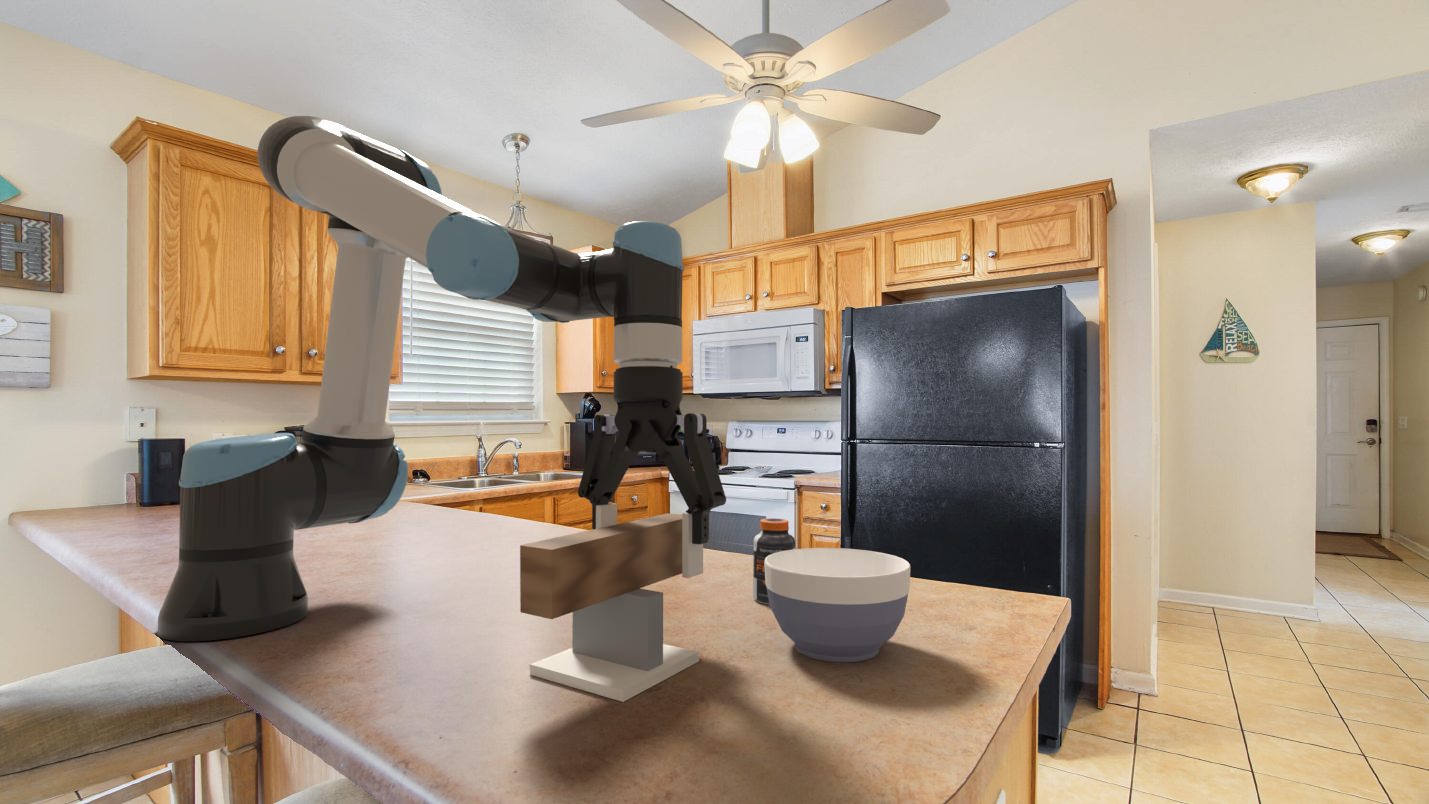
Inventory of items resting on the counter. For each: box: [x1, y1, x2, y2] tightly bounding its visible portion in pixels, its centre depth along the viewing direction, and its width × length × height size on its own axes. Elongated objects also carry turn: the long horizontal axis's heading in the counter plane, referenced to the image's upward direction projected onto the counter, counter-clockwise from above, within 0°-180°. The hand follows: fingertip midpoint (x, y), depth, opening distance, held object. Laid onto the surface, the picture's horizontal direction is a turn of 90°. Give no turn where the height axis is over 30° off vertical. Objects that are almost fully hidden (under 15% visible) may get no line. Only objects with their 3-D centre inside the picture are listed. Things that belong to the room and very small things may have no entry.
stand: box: [529, 588, 700, 703], centre depth 67 cm, size 12×12×8 cm
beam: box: [519, 513, 682, 620], centre depth 68 cm, size 22×4×6 cm, turn 147°
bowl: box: [764, 547, 911, 663], centre depth 73 cm, size 16×16×10 cm
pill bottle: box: [752, 517, 796, 605], centre depth 93 cm, size 6×6×11 cm
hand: (647, 568), depth 72 cm, fingers open, 11 cm apart
